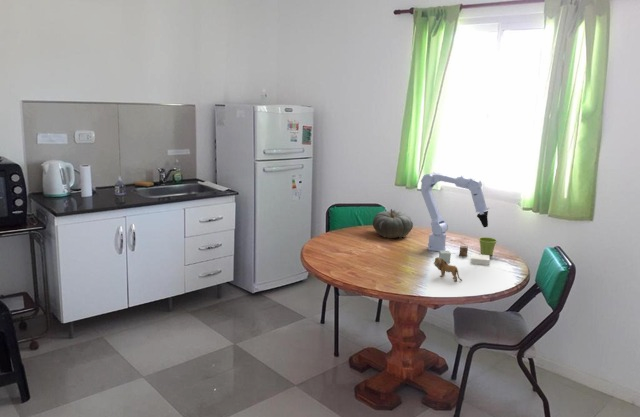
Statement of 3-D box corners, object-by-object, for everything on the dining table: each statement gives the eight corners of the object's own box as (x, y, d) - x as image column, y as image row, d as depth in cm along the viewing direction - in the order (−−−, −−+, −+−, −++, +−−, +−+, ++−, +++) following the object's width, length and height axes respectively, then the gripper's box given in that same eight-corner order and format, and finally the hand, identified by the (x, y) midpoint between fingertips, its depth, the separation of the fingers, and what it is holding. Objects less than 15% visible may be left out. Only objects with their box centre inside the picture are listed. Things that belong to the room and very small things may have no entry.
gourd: (399, 224, 327) (400, 200, 320) (420, 240, 306) (422, 214, 299) (366, 231, 318) (366, 207, 311) (385, 248, 297) (386, 222, 290)
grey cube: (440, 262, 260) (441, 253, 259) (438, 259, 265) (439, 250, 264) (450, 262, 260) (450, 253, 259) (448, 259, 264) (448, 250, 263)
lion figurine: (431, 275, 239) (432, 258, 237) (436, 273, 243) (437, 255, 241) (459, 283, 230) (461, 264, 228) (464, 280, 234) (466, 262, 232)
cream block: (470, 263, 259) (471, 258, 259) (471, 258, 268) (471, 253, 267) (488, 265, 257) (489, 260, 256) (488, 260, 265) (489, 255, 264)
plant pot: (496, 257, 269) (498, 242, 267) (478, 256, 270) (479, 241, 269) (494, 252, 278) (495, 238, 276) (476, 251, 279) (478, 236, 278)
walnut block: (459, 256, 271) (460, 247, 270) (459, 253, 275) (460, 245, 274) (466, 256, 270) (467, 248, 269) (467, 254, 274) (467, 246, 272)
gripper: (486, 200, 256) (493, 226, 256) (486, 198, 269) (493, 222, 269) (472, 204, 258) (479, 229, 258) (473, 201, 272) (480, 225, 272)
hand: (485, 226), depth 264 cm, fingers open, 7 cm apart
